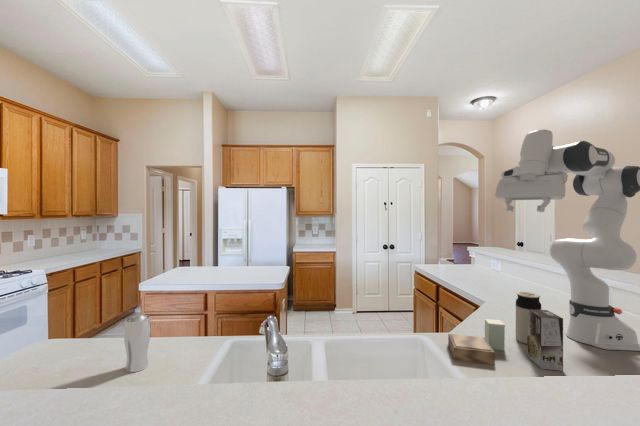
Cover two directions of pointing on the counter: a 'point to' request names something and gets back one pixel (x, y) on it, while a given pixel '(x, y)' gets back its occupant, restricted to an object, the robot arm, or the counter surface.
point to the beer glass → (137, 342)
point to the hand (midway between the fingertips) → (524, 211)
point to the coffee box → (545, 339)
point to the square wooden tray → (471, 349)
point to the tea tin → (495, 334)
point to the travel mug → (525, 313)
